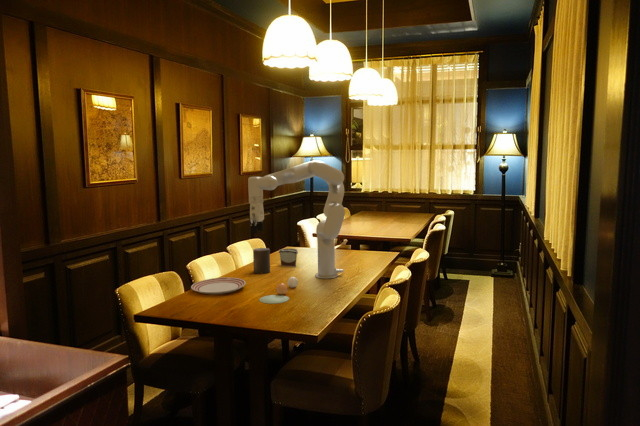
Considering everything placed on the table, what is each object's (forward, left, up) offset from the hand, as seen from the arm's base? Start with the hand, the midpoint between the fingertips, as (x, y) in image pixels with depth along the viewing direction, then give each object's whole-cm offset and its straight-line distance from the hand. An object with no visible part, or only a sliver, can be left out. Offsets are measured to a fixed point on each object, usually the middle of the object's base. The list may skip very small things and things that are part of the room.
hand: (257, 231), depth 269 cm
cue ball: (-16, +16, -25) cm, 33 cm away
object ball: (-9, +28, -25) cm, 38 cm away
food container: (-23, -38, -28) cm, 52 cm away
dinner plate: (+21, +10, -28) cm, 37 cm away
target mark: (-4, +36, -27) cm, 45 cm away
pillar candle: (-4, -24, -28) cm, 37 cm away
